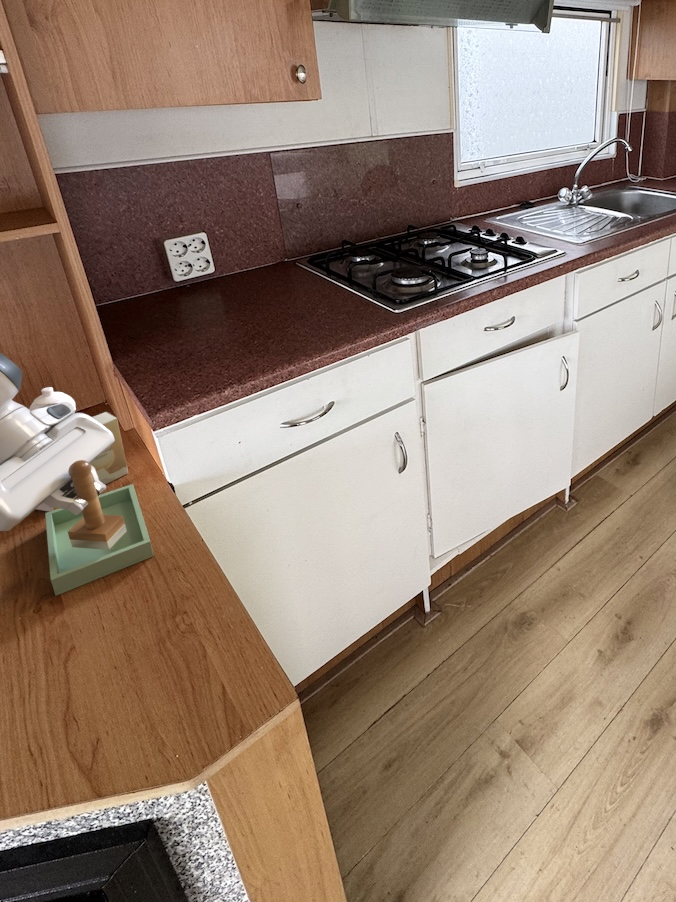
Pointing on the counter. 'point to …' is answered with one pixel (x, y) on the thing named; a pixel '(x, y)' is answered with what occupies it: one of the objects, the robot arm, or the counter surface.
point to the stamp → (92, 514)
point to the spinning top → (50, 398)
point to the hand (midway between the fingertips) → (92, 501)
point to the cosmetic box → (110, 452)
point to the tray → (91, 564)
